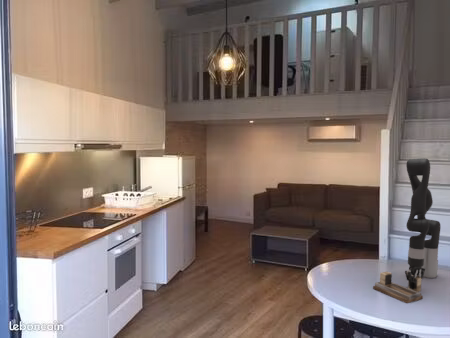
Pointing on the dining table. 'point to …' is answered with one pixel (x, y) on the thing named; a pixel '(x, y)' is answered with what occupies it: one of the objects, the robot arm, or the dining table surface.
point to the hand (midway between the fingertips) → (414, 287)
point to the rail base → (396, 289)
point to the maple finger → (416, 284)
